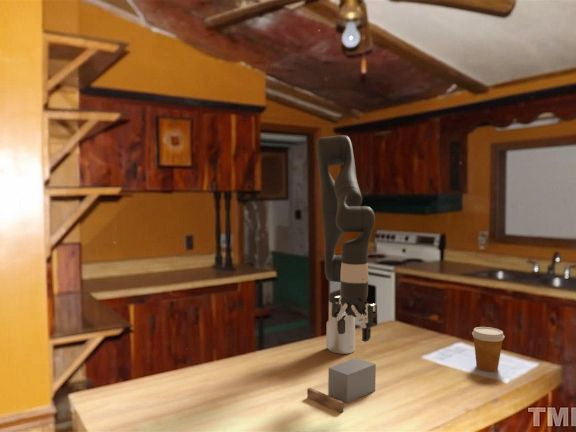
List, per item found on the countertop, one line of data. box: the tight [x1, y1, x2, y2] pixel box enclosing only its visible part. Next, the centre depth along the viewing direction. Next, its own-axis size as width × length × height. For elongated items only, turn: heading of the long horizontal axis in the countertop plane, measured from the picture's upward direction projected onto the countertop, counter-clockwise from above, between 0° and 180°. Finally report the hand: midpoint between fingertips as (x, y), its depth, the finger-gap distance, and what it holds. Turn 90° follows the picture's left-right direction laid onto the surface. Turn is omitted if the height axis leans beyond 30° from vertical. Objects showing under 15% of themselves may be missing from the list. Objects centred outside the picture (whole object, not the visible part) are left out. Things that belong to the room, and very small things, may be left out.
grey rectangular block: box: [327, 357, 377, 404], centre depth 135 cm, size 7×12×8 cm, turn 132°
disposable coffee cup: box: [471, 326, 505, 372], centre depth 154 cm, size 10×10×12 cm
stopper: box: [306, 387, 344, 414], centre depth 127 cm, size 12×1×2 cm, turn 42°
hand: (353, 337), depth 134 cm, fingers open, 8 cm apart
